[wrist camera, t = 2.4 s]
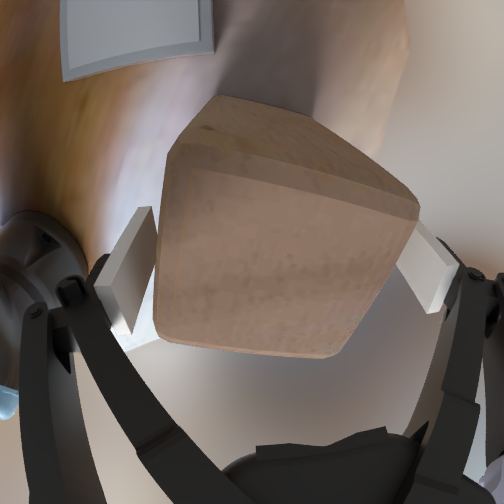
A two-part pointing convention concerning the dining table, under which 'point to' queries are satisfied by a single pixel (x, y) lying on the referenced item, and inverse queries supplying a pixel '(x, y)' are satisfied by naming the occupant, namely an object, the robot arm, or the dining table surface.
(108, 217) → the dining table surface
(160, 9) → the slate tray
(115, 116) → the dining table surface
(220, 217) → the wooden block
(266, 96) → the dining table surface
